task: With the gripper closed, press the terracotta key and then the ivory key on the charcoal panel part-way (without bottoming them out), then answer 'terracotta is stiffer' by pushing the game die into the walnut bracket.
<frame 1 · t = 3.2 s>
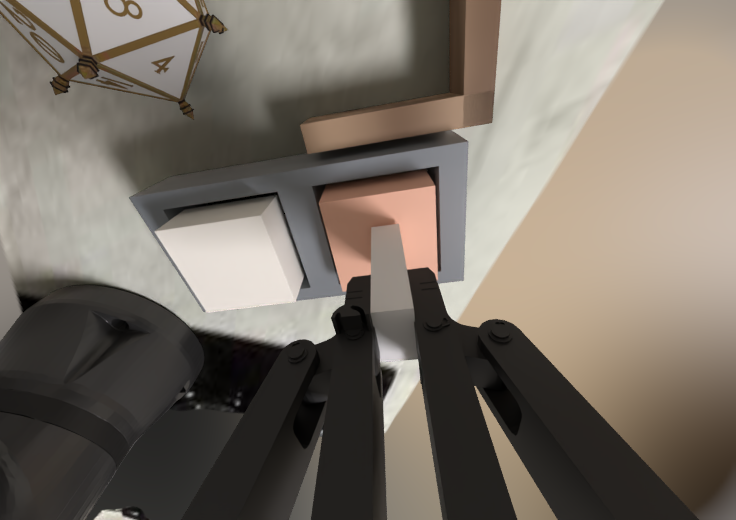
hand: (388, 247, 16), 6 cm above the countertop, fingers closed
game die: (170, 12, 15), on the countertop
ivory key: (240, 255, 18), point 4 cm above the countertop, slide at 0.3 cm
key panel: (320, 216, 21), on the countertop
terracotta key: (382, 232, 17), point 4 cm above the countertop, slide at 0.7 cm, touching gripper
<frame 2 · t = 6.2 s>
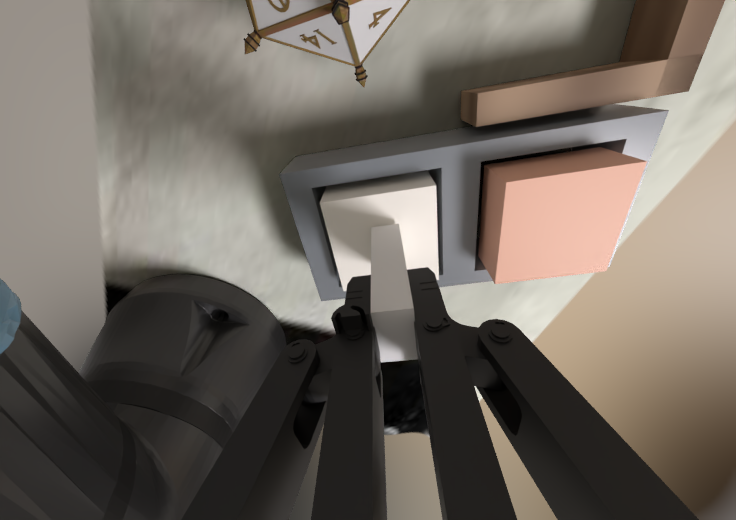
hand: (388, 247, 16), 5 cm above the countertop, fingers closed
ivory key: (383, 232, 17), point 4 cm above the countertop, slide at 1.1 cm, touching gripper
key panel: (444, 199, 20), on the countertop
terracotta key: (545, 218, 15), point 5 cm above the countertop, slide at 0.1 cm
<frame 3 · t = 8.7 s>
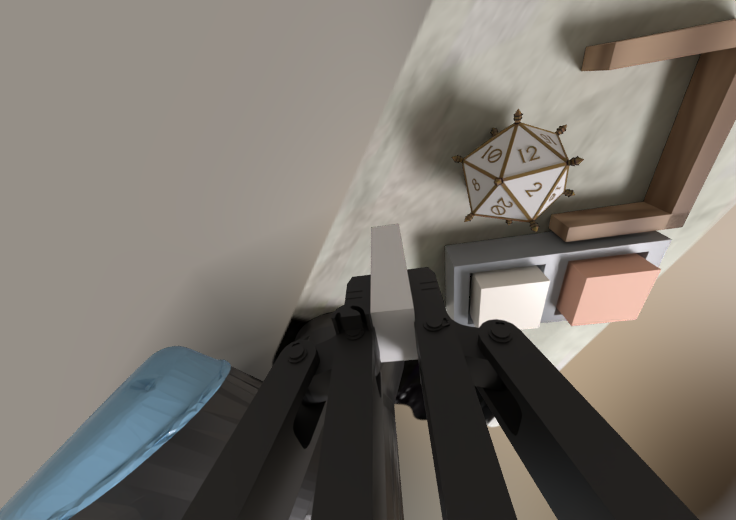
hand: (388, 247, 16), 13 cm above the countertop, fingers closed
game die: (493, 162, 25), on the countertop
ivory key: (505, 299, 28), point 4 cm above the countertop, slide at 0.3 cm
key panel: (530, 268, 31), on the countertop
walnut bracket: (625, 142, 24), on the countertop
terracotta key: (601, 289, 27), point 5 cm above the countertop, slide at 0.1 cm
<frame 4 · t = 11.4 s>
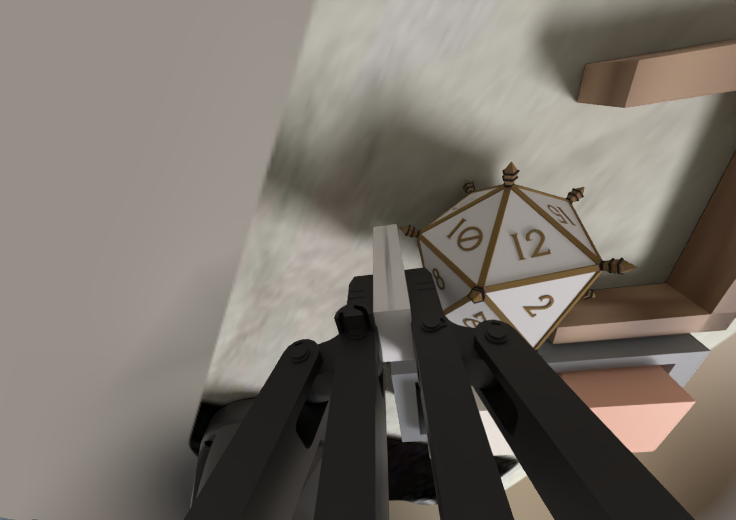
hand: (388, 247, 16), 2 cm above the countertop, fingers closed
game die: (467, 228, 17), on the countertop, touching gripper
ivory key: (467, 413, 20), point 4 cm above the countertop, slide at 0.3 cm
key panel: (508, 357, 23), on the countertop
walnut bracket: (643, 206, 16), on the countertop
terracotta key: (604, 408, 19), point 5 cm above the countertop, slide at 0.1 cm
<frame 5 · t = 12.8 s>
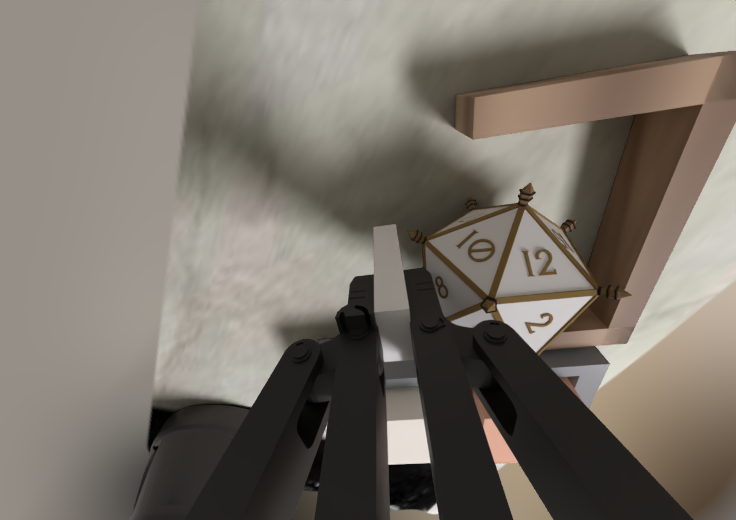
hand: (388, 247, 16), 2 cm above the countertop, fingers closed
game die: (460, 244, 17), on the countertop, touching gripper
ivory key: (390, 422, 21), point 4 cm above the countertop, slide at 0.3 cm
key panel: (440, 366, 24), on the countertop
walnut bracket: (539, 224, 17), on the countertop
terracotta key: (518, 418, 19), point 5 cm above the countertop, slide at 0.1 cm
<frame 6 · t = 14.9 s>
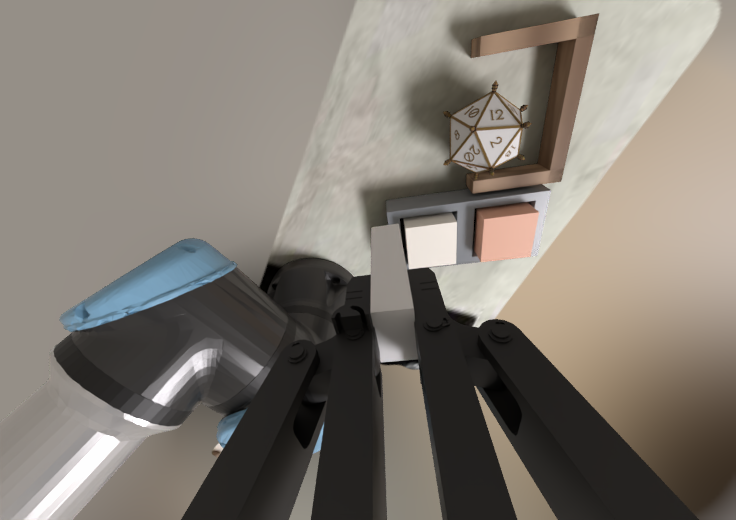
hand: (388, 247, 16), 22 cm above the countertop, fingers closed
game die: (472, 129, 33), on the countertop
ivory key: (429, 240, 36), point 4 cm above the countertop, slide at 0.3 cm
key panel: (457, 221, 39), on the countertop
walnut bracket: (514, 114, 32), on the countertop
terracotta key: (503, 232, 35), point 5 cm above the countertop, slide at 0.1 cm
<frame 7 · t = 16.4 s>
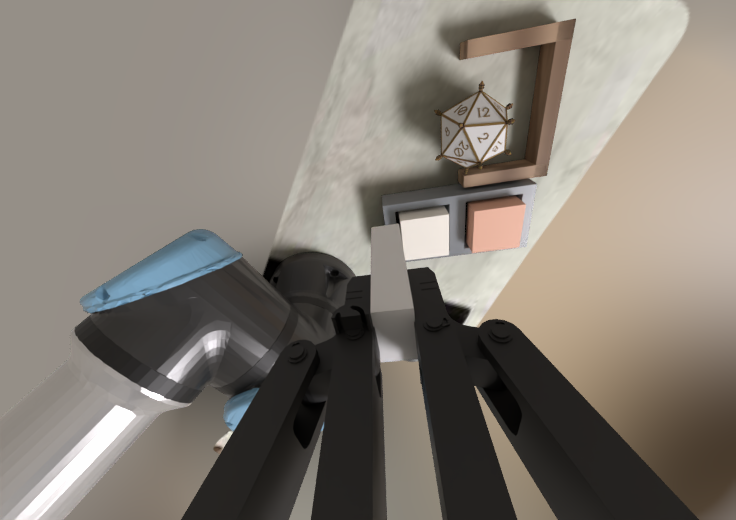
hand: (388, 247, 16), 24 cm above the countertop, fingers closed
game die: (463, 127, 35), on the countertop
ivory key: (423, 233, 38), point 4 cm above the countertop, slide at 0.3 cm
key panel: (450, 215, 41), on the countertop
walnut bracket: (501, 112, 34), on the countertop
terracotta key: (493, 224, 37), point 5 cm above the countertop, slide at 0.1 cm
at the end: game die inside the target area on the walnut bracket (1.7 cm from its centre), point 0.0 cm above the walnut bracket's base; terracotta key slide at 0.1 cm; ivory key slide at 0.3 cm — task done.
